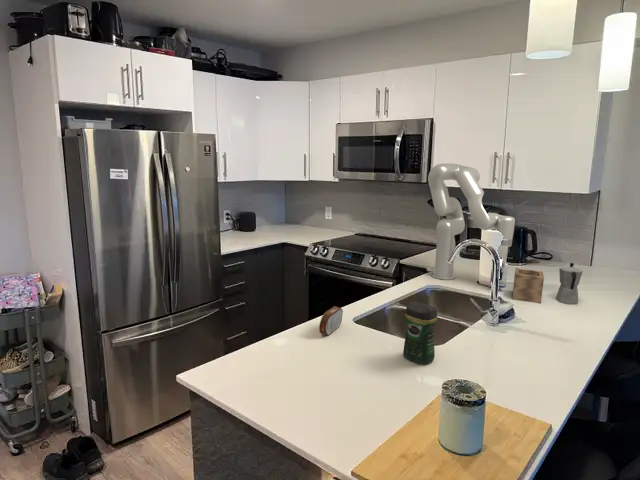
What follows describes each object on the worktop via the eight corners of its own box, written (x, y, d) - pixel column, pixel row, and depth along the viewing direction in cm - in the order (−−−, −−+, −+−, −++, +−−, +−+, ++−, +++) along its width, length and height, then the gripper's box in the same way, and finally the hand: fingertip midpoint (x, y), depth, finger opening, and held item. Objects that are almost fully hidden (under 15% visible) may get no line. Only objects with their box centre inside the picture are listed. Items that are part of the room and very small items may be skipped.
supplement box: (501, 283, 217) (504, 261, 215) (505, 287, 212) (508, 264, 209) (489, 282, 218) (492, 260, 215) (492, 286, 212) (495, 263, 209)
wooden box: (512, 299, 201) (515, 274, 199) (512, 292, 212) (515, 268, 210) (540, 303, 197) (544, 277, 195) (539, 295, 208) (542, 271, 205)
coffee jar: (438, 359, 142) (442, 305, 138) (424, 367, 137) (428, 311, 133) (413, 349, 149) (416, 297, 145) (398, 356, 144) (402, 303, 140)
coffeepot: (553, 295, 208) (557, 258, 205) (575, 298, 205) (580, 260, 202) (558, 306, 194) (563, 266, 191) (582, 308, 191) (588, 268, 187)
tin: (336, 323, 170) (336, 302, 168) (343, 325, 169) (344, 304, 167) (318, 337, 157) (318, 315, 155) (326, 339, 156) (326, 317, 154)
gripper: (495, 237, 219) (490, 271, 223) (494, 244, 203) (489, 281, 207) (511, 239, 216) (506, 274, 220) (511, 246, 201) (506, 283, 205)
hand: (498, 277), depth 214 cm, fingers closed on supplement box, 6 cm apart
